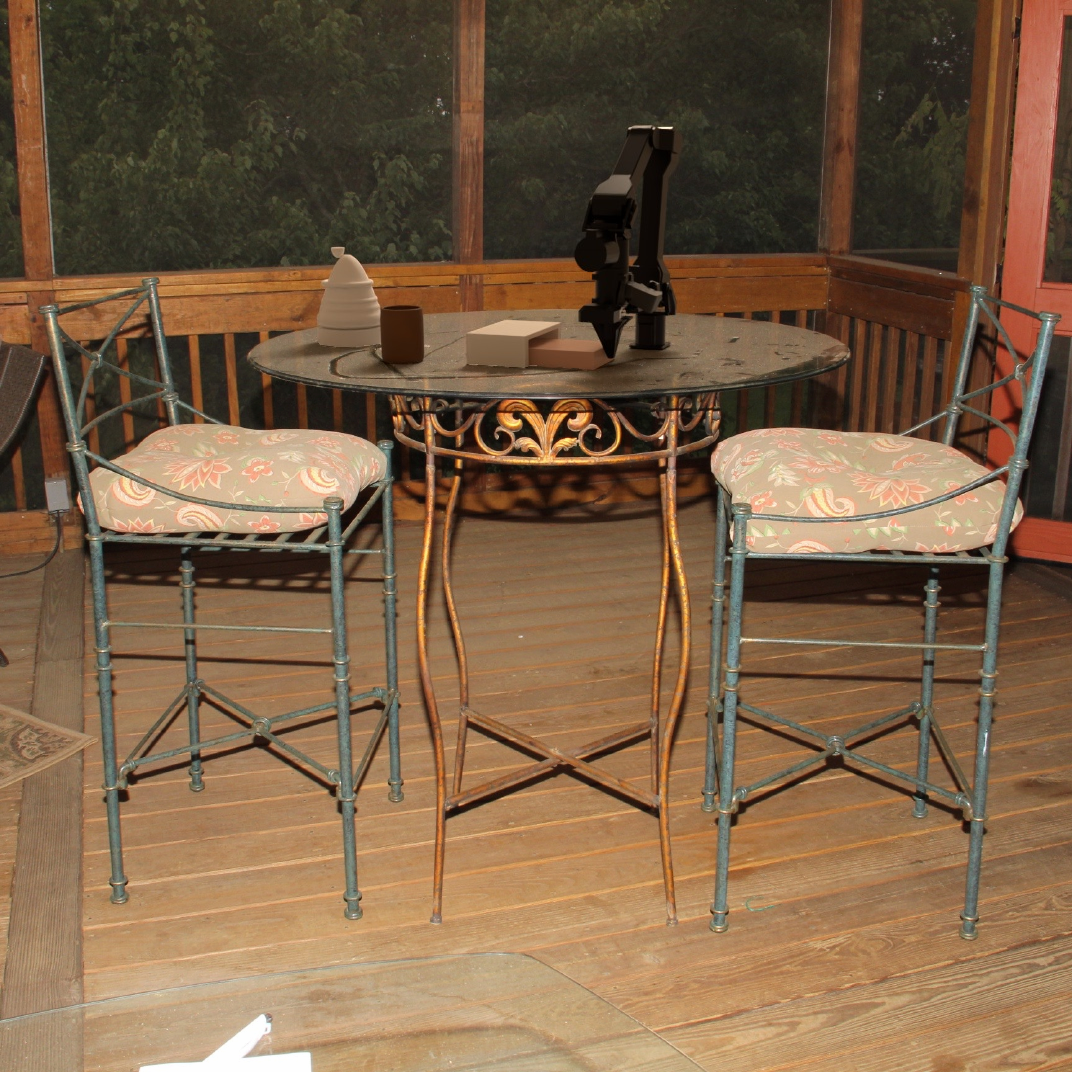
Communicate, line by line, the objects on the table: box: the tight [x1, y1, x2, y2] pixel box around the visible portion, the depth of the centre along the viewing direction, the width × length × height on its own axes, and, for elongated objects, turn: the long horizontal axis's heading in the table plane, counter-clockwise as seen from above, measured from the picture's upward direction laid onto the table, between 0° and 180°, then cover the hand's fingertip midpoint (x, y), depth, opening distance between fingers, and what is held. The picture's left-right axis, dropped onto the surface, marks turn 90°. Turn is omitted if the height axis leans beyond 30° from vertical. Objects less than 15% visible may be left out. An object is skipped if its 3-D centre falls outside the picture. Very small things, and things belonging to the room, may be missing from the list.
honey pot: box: [316, 246, 381, 348], centre depth 243 cm, size 13×13×18 cm
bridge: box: [465, 319, 562, 368], centre depth 226 cm, size 18×11×6 cm, turn 159°
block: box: [528, 338, 615, 371], centre depth 224 cm, size 12×18×4 cm, turn 70°
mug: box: [380, 304, 425, 365], centre depth 226 cm, size 12×8×9 cm, turn 10°
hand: (611, 358), depth 221 cm, fingers closed, pressing on block
